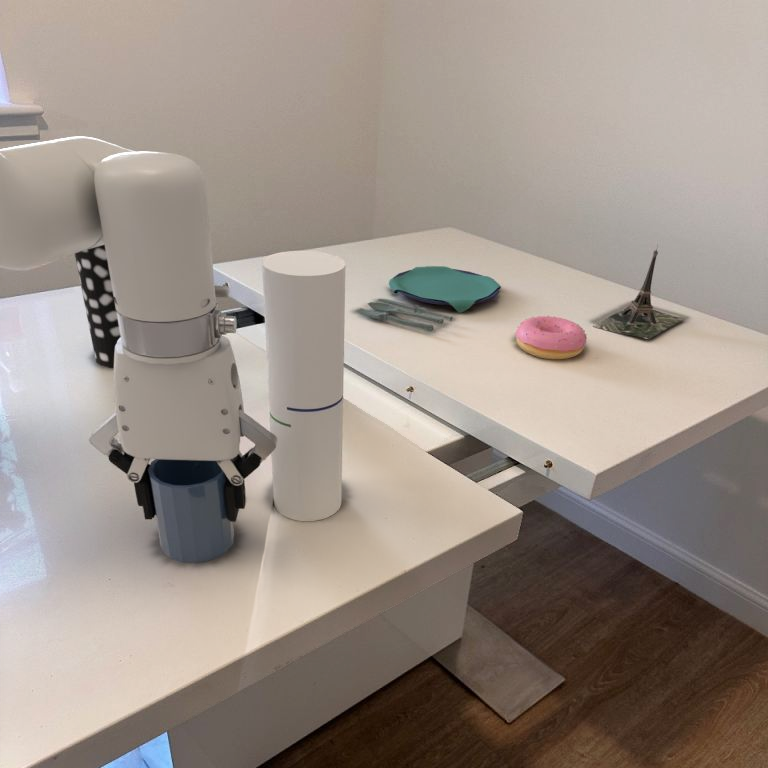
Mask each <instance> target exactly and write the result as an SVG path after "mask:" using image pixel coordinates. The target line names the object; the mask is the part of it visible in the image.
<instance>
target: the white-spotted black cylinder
mask: <svg viewBox="0 0 768 768" xmlns="http://www.w3.org/2000/svg"><path fill="white" fill-rule="evenodd" d="M74 257H75V263H76V267H77V273H78V278H79V282H80V289H81V293H82V298H83V303H84V308H85V313H86V318H87V323H88V329H89V334H90V338H91V344H92V349H93V354H94V359H95V362H96V363H97V364H98V365H100V366H102V367H104V368H110V369H114V353H115V345H116V344H117V341H118V339H119V338H120V337H121V335H120V330H119V324H118V318H117V312H116V307H115V301H114V296H113V290H112V284H111V278H110V273H109V267H108V261H107V255H106V250H105V245H102V246H98V247H94V248H91V249H87V250H83V251H80V252H78V253H75V254H74Z"/></svg>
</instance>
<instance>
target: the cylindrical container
mask: <svg viewBox="0 0 768 768" xmlns="http://www.w3.org/2000/svg"><path fill="white" fill-rule="evenodd" d="M261 272H262V291H263V311H264V313H263V314H264V331H265V352H266V373H267V393H268V394H267V395H268V411H269V412H268V415H269V431H270V432H271V433H272V434H273V435H275V436H276V437H277V444H276V448H275V450H274V451H273V452H272V453H271V454H270V455H271V472H272V473H271V474H272V493H273V494H272V495H273V506H274V509H275V510H276V511H277V512H278V513H279V514H280V515H281V516H283V517H285V518H287V519H290V520H293V521H297V522H315V521H321V520H324V519H327V518H329V517H332V516H333V515H334V514H336V513H337V512H338V511H339V510H340V508H341V506H342V492H343V489H342V488H343V434H344V432H343V430H344V429H343V428H344V378H345V377H344V373H345V372H344V371H345V370H344V369H345V317H346V316H345V315H346V262H345V260H344V259H343V258H341V257H339V256H337V255H335V254H331V253H328V252H321V251H316V250H315V251H314V250H313V251H312V250H289V251H281V252H275V253H273V254H269V255H267V256H265V257H264V258H263V259H262V261H261Z"/></svg>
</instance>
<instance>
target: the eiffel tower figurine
mask: <svg viewBox="0 0 768 768" xmlns="http://www.w3.org/2000/svg"><path fill="white" fill-rule="evenodd" d="M658 247H659V244H657V245H656V249H655V250H653V253H652V259H651V261H650V264H649V267H648V270H647V273H646V277H645V279H644V282H643V284H642V286H641V288H640V289H639V292H638V293H637V295H636V297H635V298H634V299H633V300H631V303H630V304H629V305H628V306H627V307H625V308H624V309H623V310H620V311H617V312H616V313H614V314H612V315H610V316H608V317H606V318H604V319H603V320H601V321H600V322H598V323H596V324H595V325H593V326H592V327H594V328H597V329H601V330H603V331H608V332H613V333H615V334H623V335H628V336H633V337H638V338H642V339H645V340H650V339H652V338H653V337H655V336H658V335H659V334H661V333H663V332H664V331H666V330H667V329H669V328H671V327H672V326H674V325H676V324H679V323H681V322H683V321H685V320H686V319H685V318H683V317H680V316H676V315H672V314H670V313H666V312H663V311H660V310H656V309H654V305H652V299H651V294H652V291H651V289H652V283H653V282H652V281H653V275H654V270H655V264H656V260H657V256H658V254H659V251H658Z"/></svg>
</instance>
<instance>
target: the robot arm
mask: <svg viewBox="0 0 768 768" xmlns="http://www.w3.org/2000/svg"><path fill="white" fill-rule="evenodd" d="M207 197H208V195H207V188H206V181H205V176H204V174H203V172H202V170H201V168H200V167H199V165H198V164H197V163H196V162H195V161H194V160H192V159H191V158H189V157H186V156H184V155H181V154H179V153H171V152H163V151H162V152H161V151H135V150H132V149H129V148H125V147H122V146H120V145H117V144H114V143H111V142H108V141H106V140H102V139H99V138H95V137H89V136H70V137H63V138H58V139H53V140H47V141H40V142H35V143H27V144H23V145H17V146H12V147H7V148H1V149H0V268H1V269H6V270H10V271H28V270H33V269H37V268H39V267H43V266H46V265H49V264H51V263H54V262H56V261H59V260H62V259H64V258H66V257H67V258H68V257H69V256H72V255H75V253H78V252H80V251H83V250H87V249H91V248H94V247H98V246H102V245H105V250H106V255H107V261H108V267H109V273H110V278H111V284H112V290H113V296H114V301H115V307H116V312H117V318H118V324H119V330H120V335H121V337H120V338H119V339H118V341H117V344H116V345H115V353H114V368H113V391H114V393H113V394H114V406H115V407H114V408H115V412H114V413H113V414H111V416H109V418H107V419H106V420H104V421H103V422H102V423H101V424H100V425H99V426H98V427H96V428H95V429H94V430H93V431H92V433H91V435H90V436H89V439H88V441H89V444H91V445H92V446H93V447H94V448H95V449H96V450H98V452H100V453H101V454H102V455H104V456H106V457H107V459H108V461H109V462H110V463H111V464H112V465H114V466H115V467H116V468H118V469H119V470H120V471H122V472H123V473H124V474H126V478H127V480H128V481H129V482H131V483H133V485H134V486H133V487H134V492H135V497H136V501H137V505H138V507H142V510H143V515H144V520H152V519H154V518H156V515H155V510H154V504H153V498H152V492H151V486H150V480H149V474H148V468H149V466H150V464H151V463H150V462H151V461H150V460H155V459H165V460H199V461H216V462H217V463H218V465H219V466H220V468H221V469H222V471H223V472H224V473H225V475H226V476H227V482H226V484H225V498H226V508H227V518H228V520H230V522H233V523H235V522H237V520H238V519H237V518H238V515H239V511H240V510H244V509H245V508H246V503H247V502H246V501H247V496H246V484H245V479H246V478H248V477H249V476H250V475H251V474H252V473H254V472H255V471H256V470H257V469H258V468H259V467H260V466H261V464H262V463H263V462H264V461H265V460H266V459H267V458H268V457H270V455H271V453H272V452H273V451H274V450H275V448H276V444H277V437H276V436H275V435H273V434H272V433H271V432H270V430H268V429H267V428H266V427H264V426H263V425H262V424H261V423H259V422H258V421H256V420H255V419H254V418H252V417H251V416H250V415H249V414H247V413H246V412H245V407H244V399H243V394H242V393H243V392H242V386H241V381H240V375H239V371H238V365H237V362H236V358H235V355H234V354H235V353H234V350H233V346H232V344H231V341H230V339H229V338H228V337H226V335H227V334H237V316H235V315H227V314H226V313H222V310H221V309H220V308H219V302H217V299H216V296H215V276H214V275H215V274H214V265H213V253H212V244H211V243H212V242H211V231H210V229H211V228H210V219H209V209H208V198H207ZM117 434H118V436H119V437H118V438H119V441H120V443H119V442H118V440H117V439H116V438H115V436H116V435H117ZM242 437H243V438H244V437H245V438H247V439H248V440H249V441H250V442H251V443H253V444H254V446H253V447H251V448H250V449H248V451H247V452H245V453H244V454H242V452H241V451H240V443H241V438H242Z"/></svg>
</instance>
